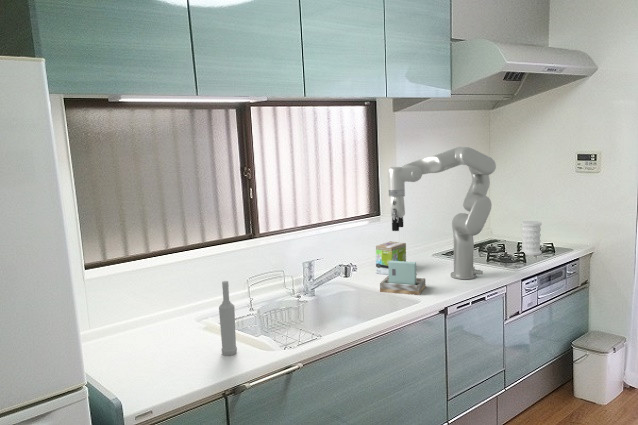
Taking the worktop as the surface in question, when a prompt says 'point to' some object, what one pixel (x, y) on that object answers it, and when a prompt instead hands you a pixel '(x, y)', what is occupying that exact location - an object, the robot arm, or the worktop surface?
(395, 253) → the tea box
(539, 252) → the decorative container
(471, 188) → the robot arm
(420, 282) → the track base
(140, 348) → the worktop surface
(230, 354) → the bottle
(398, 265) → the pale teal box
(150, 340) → the worktop surface
